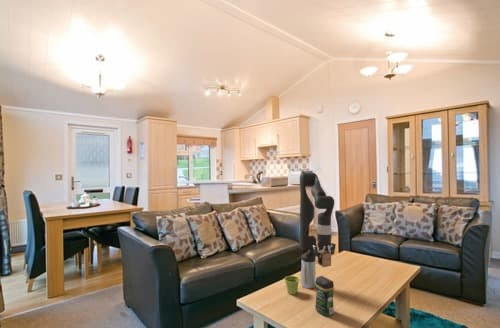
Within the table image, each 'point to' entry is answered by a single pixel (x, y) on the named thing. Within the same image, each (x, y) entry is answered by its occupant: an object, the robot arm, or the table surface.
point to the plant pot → (292, 284)
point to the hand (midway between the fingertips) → (324, 263)
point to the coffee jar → (324, 296)
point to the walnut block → (326, 259)
